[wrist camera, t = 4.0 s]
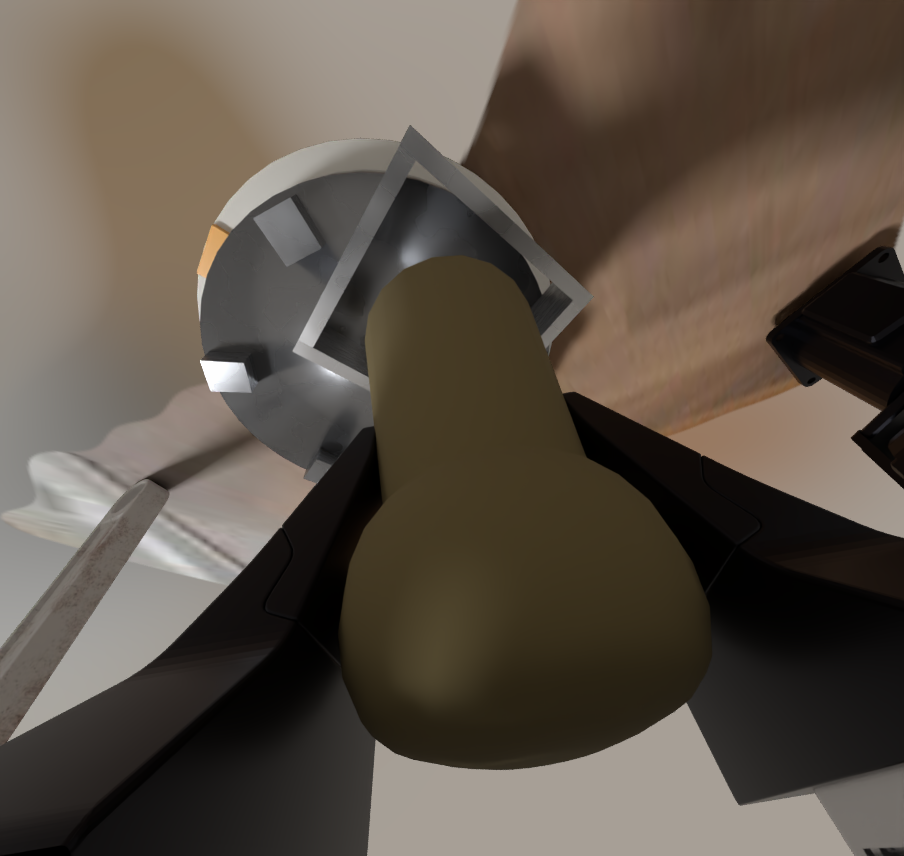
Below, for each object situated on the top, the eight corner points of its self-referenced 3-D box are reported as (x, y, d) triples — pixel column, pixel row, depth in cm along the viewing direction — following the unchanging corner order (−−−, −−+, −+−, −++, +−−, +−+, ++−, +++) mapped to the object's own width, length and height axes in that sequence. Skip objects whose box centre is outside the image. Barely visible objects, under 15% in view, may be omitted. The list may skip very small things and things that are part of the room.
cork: (344, 387, 13) (239, 818, 5) (399, 218, 10) (380, 611, 2) (484, 430, 15) (586, 786, 7) (567, 300, 12) (951, 667, 4)
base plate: (614, 305, 21) (624, 313, 20) (430, 493, 29) (431, 506, 28) (293, -2, 12) (283, -15, 11) (165, 386, 21) (154, 399, 20)
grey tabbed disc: (427, 494, 28) (431, 545, 24) (178, 394, 20) (131, 447, 16) (605, 312, 20) (649, 348, 16) (306, 35, 12) (267, -9, 9)
